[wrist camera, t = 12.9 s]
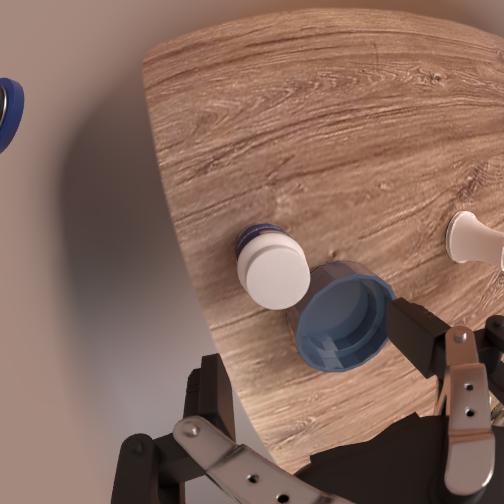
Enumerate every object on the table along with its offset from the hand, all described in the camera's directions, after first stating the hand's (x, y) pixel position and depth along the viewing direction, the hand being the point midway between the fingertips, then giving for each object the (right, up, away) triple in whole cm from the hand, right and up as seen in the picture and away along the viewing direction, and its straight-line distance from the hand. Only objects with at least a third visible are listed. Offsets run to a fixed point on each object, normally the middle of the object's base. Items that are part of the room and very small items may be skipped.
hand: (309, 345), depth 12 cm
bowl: (+7, -3, +20) cm, 22 cm away
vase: (+28, +7, +20) cm, 35 cm away
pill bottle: (-2, +5, +18) cm, 18 cm away
